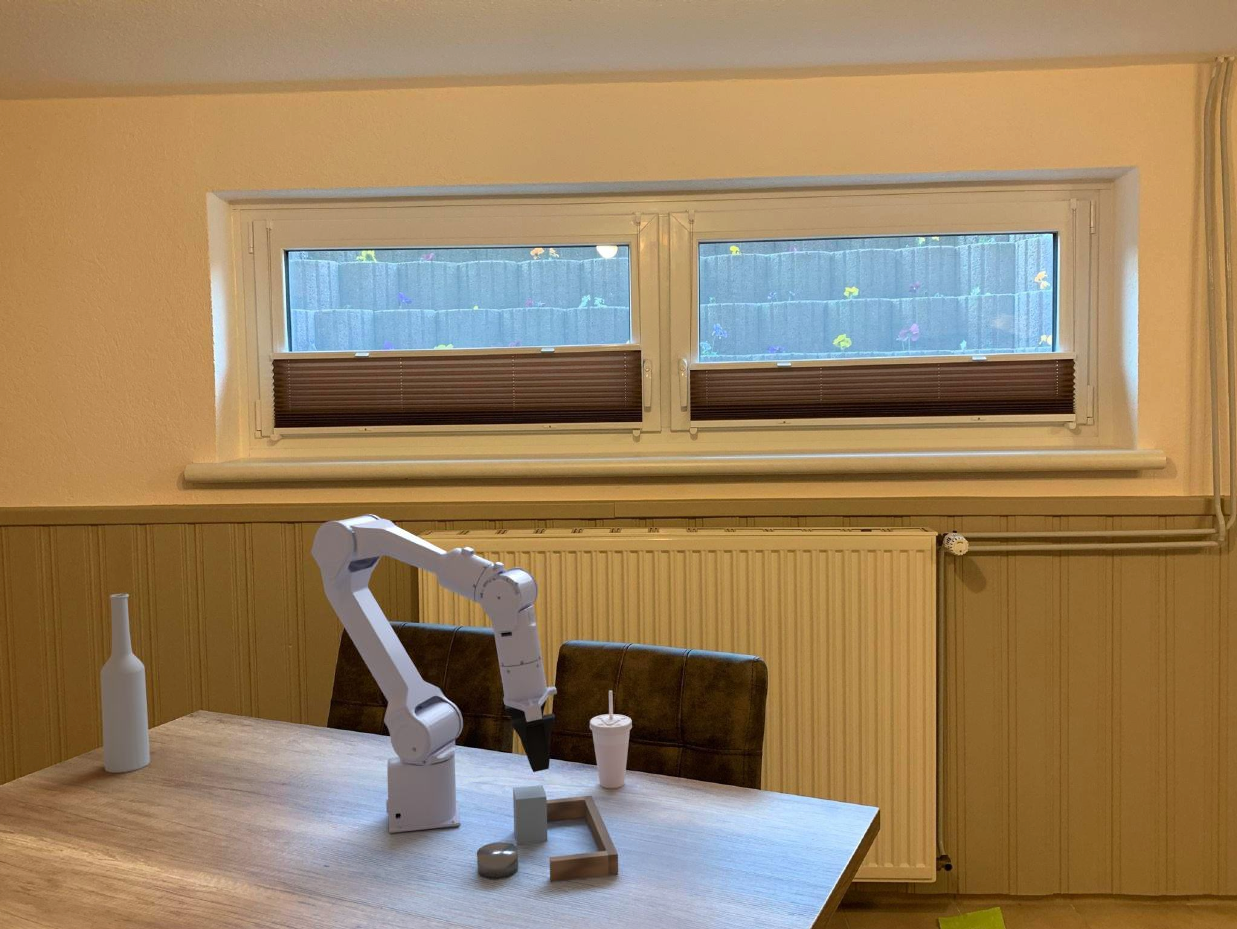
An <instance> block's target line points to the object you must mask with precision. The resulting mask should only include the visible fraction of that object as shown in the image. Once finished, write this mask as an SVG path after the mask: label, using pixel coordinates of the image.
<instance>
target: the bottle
mask: <svg viewBox="0 0 1237 929" xmlns="http://www.w3.org/2000/svg"><path fill="white" fill-rule="evenodd" d="M129 597H130V595H129V594H128V593H116V594H110V596H109V599H110V610H111V611H110V613H111V655H110V657H109V659H108V660H107V661H106V662H105V664H104V665H102V668H101V669H100V692H101V713H102V714H101V718H102V740H103V741H102V744H103V761H104V762H103V763H104V771H105V772H107V773H109V774H112V773H114V774H120V773H121V774H125V773H129V772H133V771H138V770H140V769H143V768H146V767H147V766H148V765H149V764H150V763H151V761H150V760H151V759H150V757H151V756H150V755H151V754H150V738H149V723H148V722H149V721H148V720H149V718H148V704H147V702H148V700H147V689H146V688H147V686H146V670H145V665H144V664H143V662H142V661H141V660H140V658H138V657H137V656H136V655H135V654H134V653H133V650H132V643H131V642H132V641H131V635H130V632H131V631H130V621H129V620H130V619H129V607H128V606H129V605H128V604H129V603H128V598H129Z"/></svg>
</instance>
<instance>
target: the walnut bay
mask: <svg viewBox="0 0 1237 929" xmlns="http://www.w3.org/2000/svg"><path fill="white" fill-rule="evenodd" d="M581 818H584V819H585V820H586V823H587V826H588V828H589V832H590V833H591V836H592V838H593V840H594V843H595V845H596V847H597V850H598V851H592V852H584V853H583V852H582V853H575V854H567V855H566V854H563V855H558V856H556V855H554V856H549V879H550V882H551V883H553V882H562V881H563V882H564V881H570V880H571V881H572V880H578V879H579V880H580V879H587V878H597V877H598V878H599V877H604V876H605V877H606V876H613V875H619V853H618V850H617V849H616V846H615V844H614V842H613V839H612V838H611V836H610V834H609V831H608V828H607V826H606V824H605V822H604V819H603V818H602V815H601V813H600V811H599V809H598V806H597V804H596V802H595V800H594V798H593V796H592V795H582V796H573V797H565V798H563V797H562V798H554V799H547V822H552V821H553V822H554V821H561V820H563V821H564V820H571V819H572V820H573V819H574V820H575V819H581Z"/></svg>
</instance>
